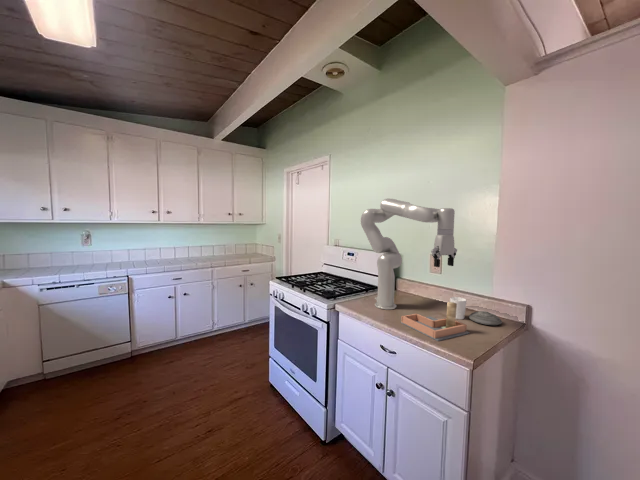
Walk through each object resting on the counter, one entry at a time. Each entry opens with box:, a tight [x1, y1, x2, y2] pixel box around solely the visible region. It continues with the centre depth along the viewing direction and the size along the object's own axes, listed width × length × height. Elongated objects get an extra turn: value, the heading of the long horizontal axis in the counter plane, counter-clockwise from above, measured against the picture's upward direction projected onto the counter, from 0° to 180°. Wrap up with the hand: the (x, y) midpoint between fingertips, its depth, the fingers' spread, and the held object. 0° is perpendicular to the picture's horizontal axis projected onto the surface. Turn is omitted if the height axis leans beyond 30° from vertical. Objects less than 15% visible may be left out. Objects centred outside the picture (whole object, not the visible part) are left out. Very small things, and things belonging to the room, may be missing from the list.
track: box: [400, 313, 470, 342], centre depth 134 cm, size 23×20×4 cm
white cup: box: [449, 296, 467, 320], centre depth 149 cm, size 8×8×10 cm
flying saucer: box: [468, 310, 503, 326], centre depth 144 cm, size 15×15×6 cm
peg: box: [445, 301, 457, 328], centre depth 132 cm, size 4×4×12 cm
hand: (443, 266), depth 143 cm, fingers open, 9 cm apart
